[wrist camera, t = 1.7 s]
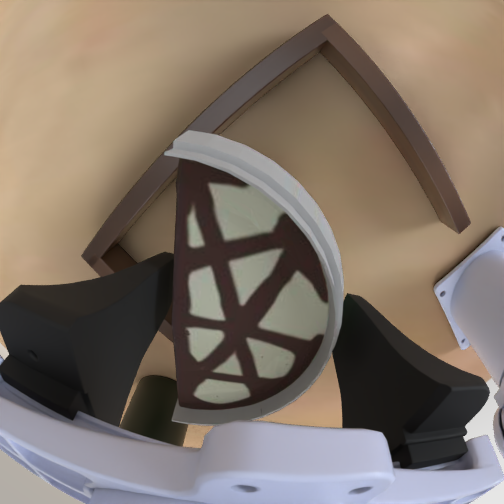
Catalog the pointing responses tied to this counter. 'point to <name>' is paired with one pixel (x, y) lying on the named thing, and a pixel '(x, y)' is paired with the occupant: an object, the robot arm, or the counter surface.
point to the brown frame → (250, 91)
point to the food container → (247, 284)
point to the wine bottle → (155, 411)
